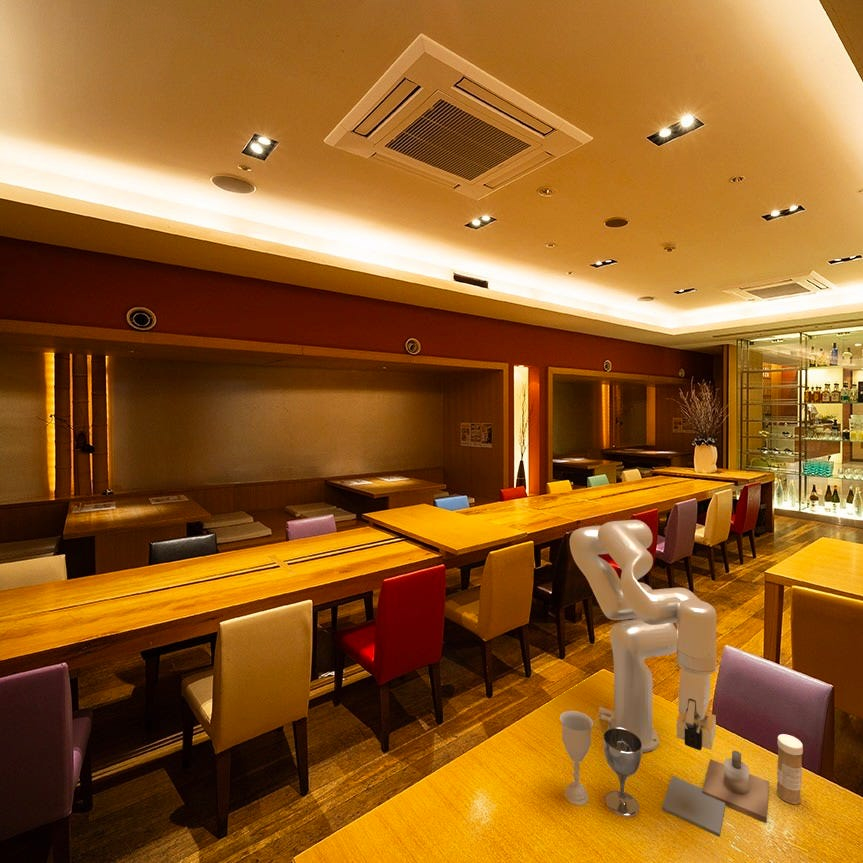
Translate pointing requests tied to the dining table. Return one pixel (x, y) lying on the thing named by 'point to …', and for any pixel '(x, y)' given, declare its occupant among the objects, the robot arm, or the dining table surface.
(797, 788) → the sprinkles bottle
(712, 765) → the stand
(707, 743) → the c link
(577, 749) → the chalice
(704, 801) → the mat
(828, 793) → the dining table surface
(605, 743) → the wine glass
